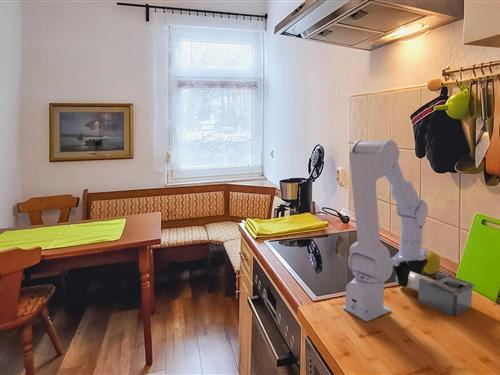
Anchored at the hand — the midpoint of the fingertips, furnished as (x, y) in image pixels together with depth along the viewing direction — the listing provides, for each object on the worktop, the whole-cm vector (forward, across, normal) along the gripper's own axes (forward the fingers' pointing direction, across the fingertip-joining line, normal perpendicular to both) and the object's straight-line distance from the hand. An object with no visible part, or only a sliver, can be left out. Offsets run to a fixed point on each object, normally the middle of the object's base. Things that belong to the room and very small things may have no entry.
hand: (408, 283), depth 98 cm
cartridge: (+2, 0, -3) cm, 3 cm away
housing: (+2, 0, -10) cm, 11 cm away
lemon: (+2, +15, +3) cm, 15 cm away
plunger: (-3, 0, -12) cm, 13 cm away
